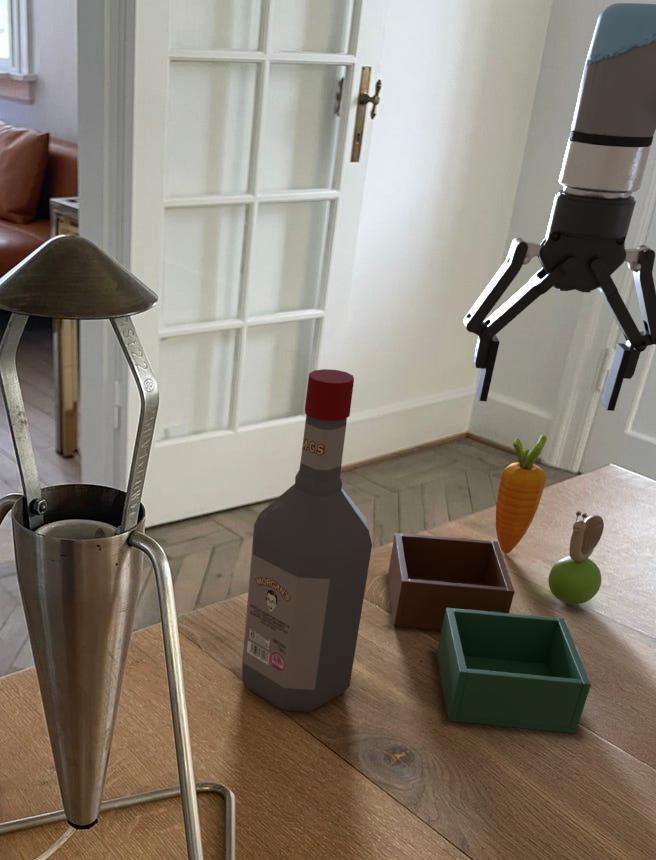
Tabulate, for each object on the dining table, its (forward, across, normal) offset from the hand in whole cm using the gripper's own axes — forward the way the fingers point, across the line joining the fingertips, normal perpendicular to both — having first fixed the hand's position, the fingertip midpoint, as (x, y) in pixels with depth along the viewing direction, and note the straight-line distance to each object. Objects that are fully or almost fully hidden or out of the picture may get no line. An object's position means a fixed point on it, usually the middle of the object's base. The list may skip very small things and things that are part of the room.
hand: (543, 402), depth 106 cm
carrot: (+20, 0, -1) cm, 20 cm away
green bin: (+19, +5, +29) cm, 35 cm away
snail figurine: (+20, -5, +10) cm, 22 cm away
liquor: (+20, +25, +30) cm, 44 cm away
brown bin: (+20, +9, +12) cm, 25 cm away
